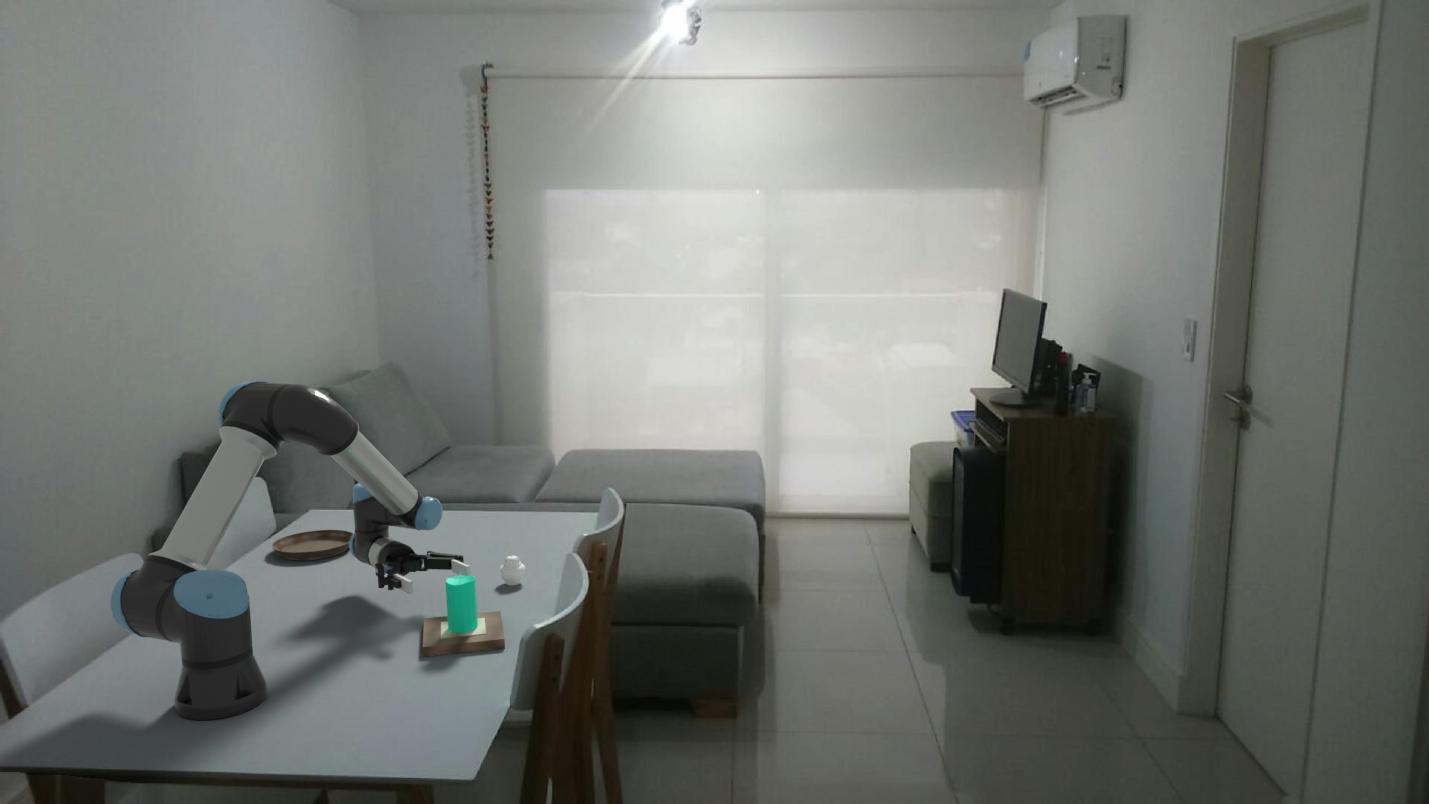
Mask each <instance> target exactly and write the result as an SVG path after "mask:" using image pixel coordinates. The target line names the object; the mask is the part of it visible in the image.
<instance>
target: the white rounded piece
mask: <svg viewBox="0 0 1429 804" xmlns="http://www.w3.org/2000/svg"><path fill="white" fill-rule="evenodd" d="M498 569H499V573H500V577H501V578H502V580H503V581H504V583H505V585H507V586H511V587H512V586H517V585H520V584H521V581H522V580H523V578H524V576H525V572H526V566H525V565H524V563H522V561H520V557H519V556H516V555H509V556H506V557H505V559H504V562H503V564H501V565H500V567H499V568H498Z"/></svg>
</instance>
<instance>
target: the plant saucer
mask: <svg viewBox="0 0 1429 804" xmlns="http://www.w3.org/2000/svg"><path fill="white" fill-rule="evenodd" d="M354 533H355V532H351V531H348V530H342V529H317V530H309V531H308V530H307V531H304V532H303V531H302V532H297V533H293V534H290V535H286V536H283V537H280V538H278V539H277V540H275V541H274V542H273V543H272V544H271V548H272V550H274V551H275V553H276V554H277V555H278V556H280V557H282V558H284V559H287V560H290V561H291V560H292V561H315V560H322V559H327V558H331V557H334V556H337V555H339V554H342V553H344V552H345V551H347V550H349V541H350V539H351V536H352V535H353V534H354Z"/></svg>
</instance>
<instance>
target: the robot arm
mask: <svg viewBox="0 0 1429 804" xmlns="http://www.w3.org/2000/svg"><path fill="white" fill-rule="evenodd" d="M218 413H219V414H220V416H218V420H219V424H220V428H219V430H218V434H219V437H220V439H221V442H220V445H219V446H218V449H217V450H216V452H215V453H214V455H213V457H212V459H211V461H210V462H209V463H208V466H207V467H206V470H205V471H204V473H203V474H202V477H201V478H200V480H199V482H198V484H197V485H196V487H195V489H194V490H193V492H192V494H191V496H190V497H189V500H188V501H187V503H186V504H185V506H184V508H183V510H182V511H181V514H180V515H179V517H178V519H177V521H176V523H175V524H174V526H173V528H172V529H171V532H170V533H169V535H168V536H167V538H166V541H164V544H163V546H162V547H161V548H160V549H159V550H156V551H154V552H151V553H149V554H147V556H146V558H145V560H144V561H143V563H142V565H141V567H140V568H135V569H132V570H130V571H129V572H125V574H123V575H122V576H121V577H120V578H119V579H118V580H117V581H116V584H115V585H114V587H113V588H112V589H113V590H112V593H111V596H110V601H109V602H110V610H111V612H112V618H113V620H114V622H115V623H116V624H117V625H118V627H119V628H120V629H122V630H123V631H125V632H127V633H130V634H132V635H133V634H134V635H136V636H138V637H141V638H151V639H157V640H161V641H168V642H172V643H177V644H179V647H180V655H181V657H180V658H181V672H180V675H179V679H178V683H177V687H176V691H175V695H174V707H175V712H176V714H177V715H178V716H180V717H182V718H185V719H187V720H197V721H198V720H199V721H205V720H207V721H208V720H209V721H210V720H217V719H223V718H227V717H231V716H236V715H239V714H242V713H245V712H246V711H249V710H252V709H253V708H255V707H257V706H258V705H260V704H261V703H263V701H264V700H265V699H266V698H267V695H268V688H267V687H268V686H267V681H266V678H265V676H264V674H263V672H262V670H261V667H260V665H259V664H258V662H257V660H256V658H255V655H254V650H253V649H254V647H253V634H252V622H251V621H252V620H251V618H252V617H251V607H250V603H251V602H250V596H249V592H248V588H247V583H246V581H245V579H244V578H243V577H242V576H241V575H239V574H238V573H236V572H233V571H229V570H225V569H214V570H210V569H208V568H207V567H209V564H210V562H211V560H212V559H213V556H214V554H215V553H216V551H217V550H218V547H219V546H220V544H221V541H222V540H223V538H224V536H225V534H226V532H227V530H228V529H229V526H230V524H231V523H232V522H233V518H234V517H235V516H236V513H237V512H238V509H239V507H240V506H241V504H242V503H243V501H244V498H245V497H246V494H247V493H248V491H249V489H250V487H251V485H252V484H253V481H254V480H255V478H256V476H257V474H258V472H259V471H260V469H261V467H262V465H263V463H264V461H265V460H269V459H273V458H275V457H276V456H277V454H278V452H279V450H280V448H281V446H282V444H283V443H284V442H286V443H297V444H298V443H299V444H303V445H306V446H309V447H310V448H313V449H314V450H315V451H316V452H317V453H319V454H320V455H321V456H324V457H331V458H332V459H333V460H334V461H335V462H336V463H337V464H338V465H339V466H340V467H341V468H343V469H344V470H345V471H346V472H347V473H348V474H349V475H350V476H351V477H352V478H353V479H355V481H356V482H357V483H356V484H354V486H353V487H352V503H351V504H352V509H353V520H354V523H353V524H354V532H353V533H354V534H353V535H352V536H351V539H350V541H349V548H348V550H349V553H350V554H351V555H352V557H354V558H356V559H357V560H358V561H359V562H361V563H363V564H367V565H369V566H370V567H371V566H372V567H373V568H374V571H375V577H377V585H378V586H377V587H378V589H385V586H387V591H394V590H395V589H398V590H400V591H402V592H405V593H406V594H408V595H412V594H414V589H413V580H411V579H409V578H407V577H405V576H407V575H408V574H410V573H416V572H427V571H429V570H441V571H442V570H444V571H445V570H446V571H447V570H448V571H450V570H451V572H452V573H454V574H456V575H457V576H458V575H460V573H461V575H462V576H471V565H468V564H466V563H465V562H464V561H465V560H464V555H462V554H451V553H446V552H445V553H444V552H437V551H433V550H427V551H426V554H417V553H416V552H415V550H414V549H413V548H412V547H411V546H409V545H408V544H405V543H403V542H401V541H399V540H396V539H394V538H391V537H390V529H389V527H397V528H403V529H409V530H411V529H412V530H416V531H431V530H434V529H436V528H437V527H438V526H439V525H440V523H441V520H442V518H443V511H444V509H443V505H442V503H441V502H440V500H439V499H438V498H436V497H431V496H430V495H427V496H424V495H422V494H421V493H420V491H418V490H417V489H416V488H415V487H414V486H413V485H412V484H411V482H409V481H408V480H407V479H406V478H405V476H404V475H402V473H400V471H398V469H397V468H396V467H394V465H393V464H392V463H391V462H390V461H389V460H388V459H387V458H386V457H385V456H384V455H383V454H382V453H381V452H380V451H379V450H378V449H377V448H376V446H374V445H373V444H372V443H371V442H370V441H369V439H368V438H366V437H365V435H363V434H362V433H361V431H360V426H359V422H358V421H357V420H356V419H355V418H354V417H353V416H352V415H351V414H350V413H349V412H348V411H347V410H346V409H345V408H344V407H343V406H341V405H340V404H339V403H338V402H336V401H335V400H334V399H332V398H331V397H330V396H329V395H327V394H325V393H324V392H322V391H320V390H319V389H316V388H314V387H312V386H309V385H306V384H301V383H282V382H281V383H280V382H279V383H277V382H268V381H265V380H253V381H246V382H241V383H238V384H236V385H234V386H233V387H232V388H230V389H229V390H228V391H227V392H226V393H225V394H224V395H223V397H222V399H221V401H220V404H219V407H218ZM385 575H387V576H385Z"/></svg>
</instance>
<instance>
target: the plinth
mask: <svg viewBox="0 0 1429 804" xmlns="http://www.w3.org/2000/svg"><path fill="white" fill-rule="evenodd" d="M477 620H478V626H477V628H476V629H475V630H473V631H470V632H465V633H455V632H451V631H450V630H448V615H446V616H433V617H426V618H425V617H424V618H423V634H422V657H432V655H435V656H443V655H452V654H463V653H462V652H464V653H470V652H471V653H472V652H481V651H480V650H483V651H492V650H499V649H498V648H502V649H505V648H506V643H505V641H506V639H505V632H504V626H503V620H502V613H501V611H500V610H497V611H495V610H494V611H488V612H477Z"/></svg>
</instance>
